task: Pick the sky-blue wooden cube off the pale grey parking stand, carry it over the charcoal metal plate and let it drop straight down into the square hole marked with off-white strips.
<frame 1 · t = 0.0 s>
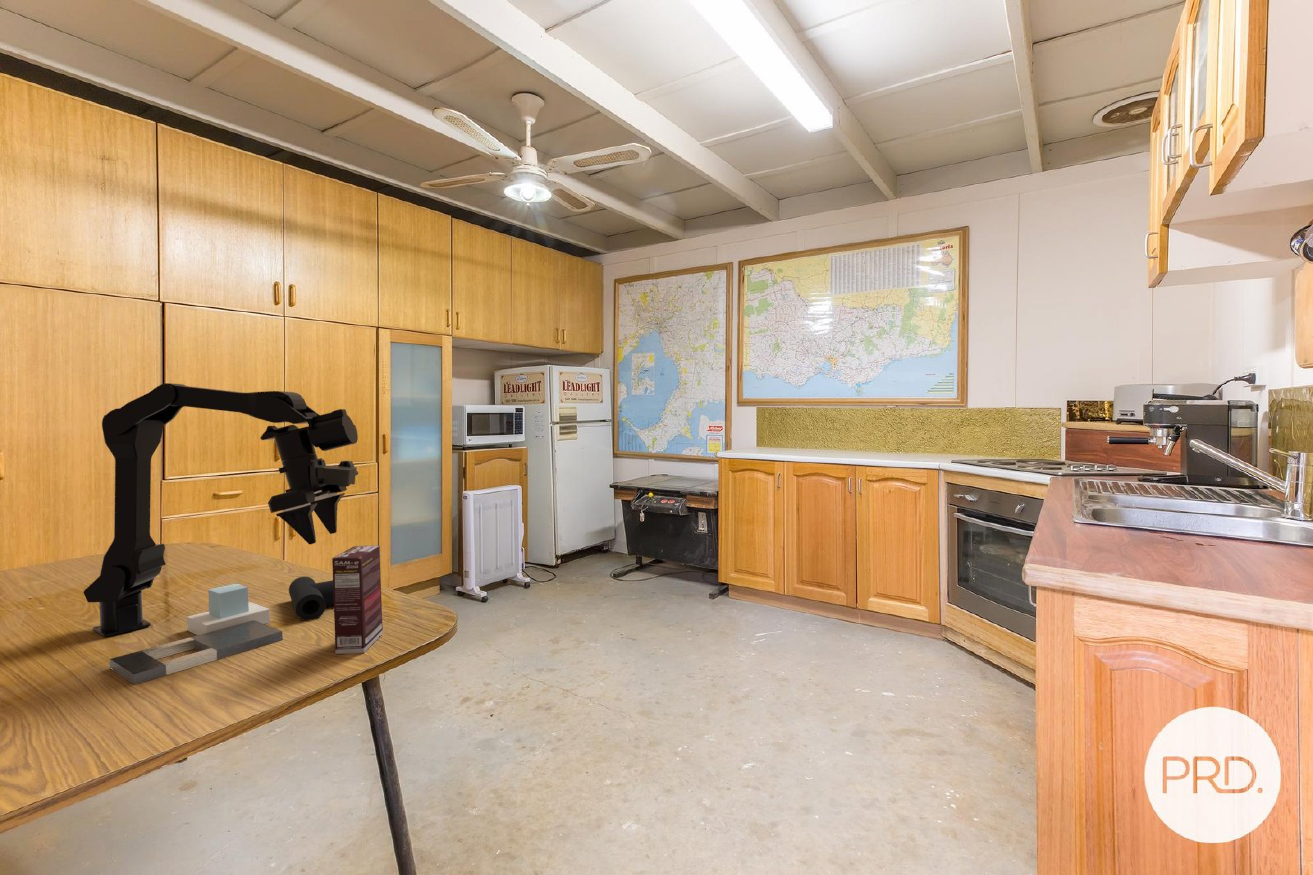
hand: (323, 538, 112), 15 cm above the table, tool pointing down, fingers open, 9 cm apart
pipe connector: (325, 607, 121), on the table
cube: (229, 612, 109), point 2 cm above the table, touching parking stand
parking stand: (229, 626, 109), on the table
supplement box: (359, 645, 101), on the table
plate: (201, 653, 97), on the table
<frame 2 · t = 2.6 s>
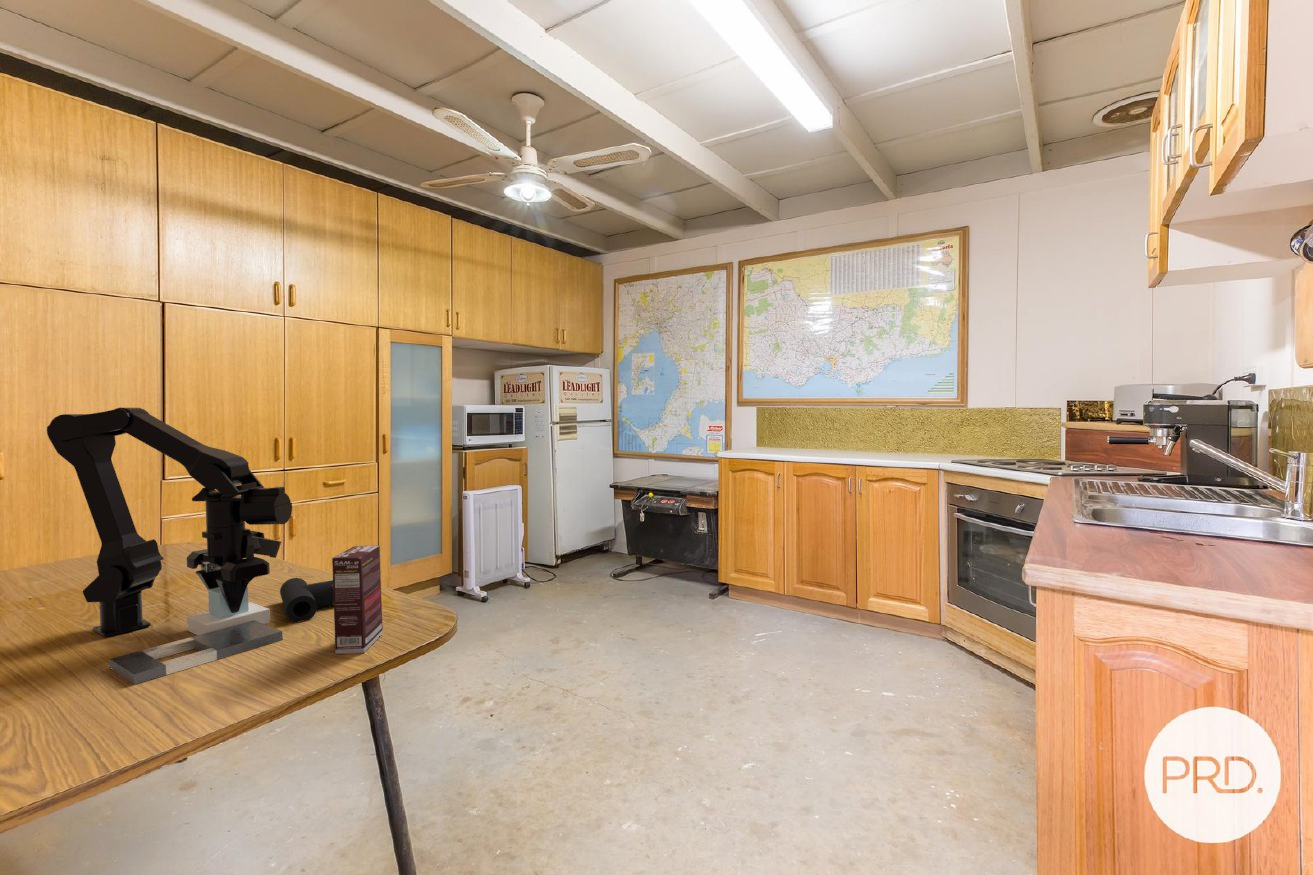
hand: (228, 610, 109), 3 cm above the table, tool pointing down, fingers closed on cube, 4 cm apart
pipe connector: (317, 609, 120), on the table
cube: (229, 612, 109), point 3 cm above the table, touching gripper, parking stand
everything else where it was.
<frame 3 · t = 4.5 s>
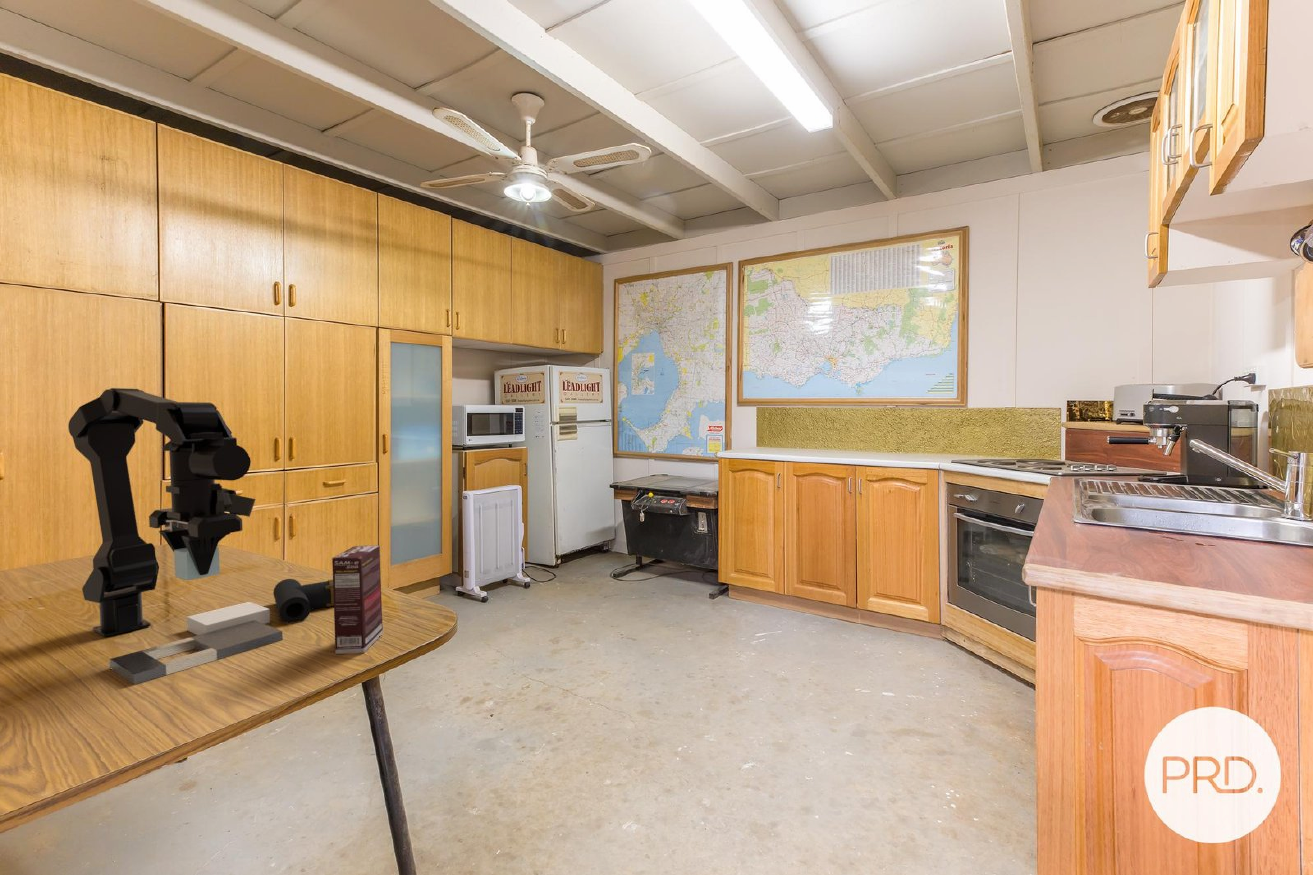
hand: (197, 572, 99), 13 cm above the table, tool pointing down, fingers closed on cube, 4 cm apart
pipe connector: (310, 610, 119), on the table
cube: (197, 575, 99), point 12 cm above the table, touching gripper
everything else where it was.
when the fingers open (2 cm above the table, at t = 6.6 s): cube drops 2 cm, on the table.
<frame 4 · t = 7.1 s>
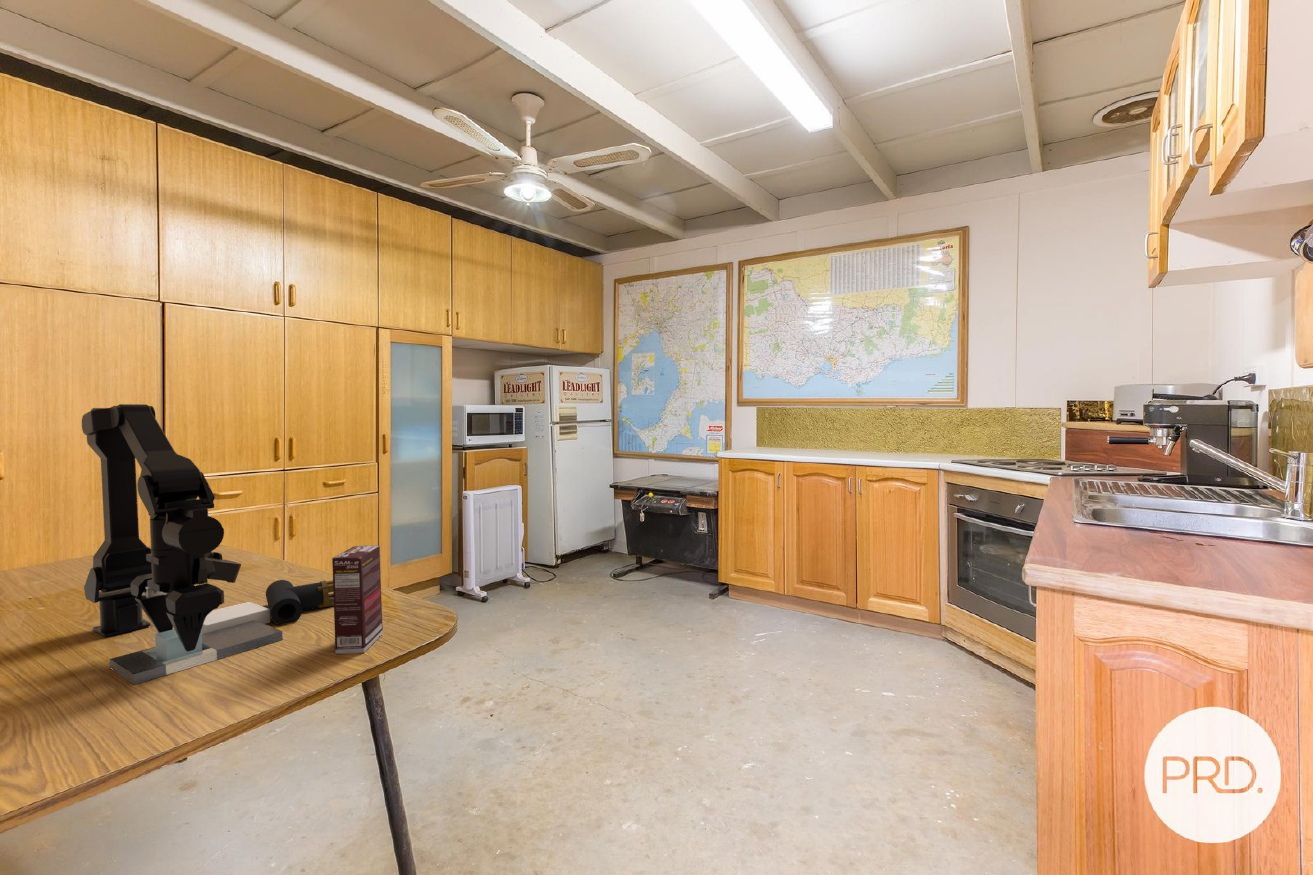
hand: (178, 644, 94), 2 cm above the table, tool pointing down, fingers open, 9 cm apart
pipe connector: (303, 611, 119), on the table
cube: (179, 660, 95), on the table
everything else where it was.
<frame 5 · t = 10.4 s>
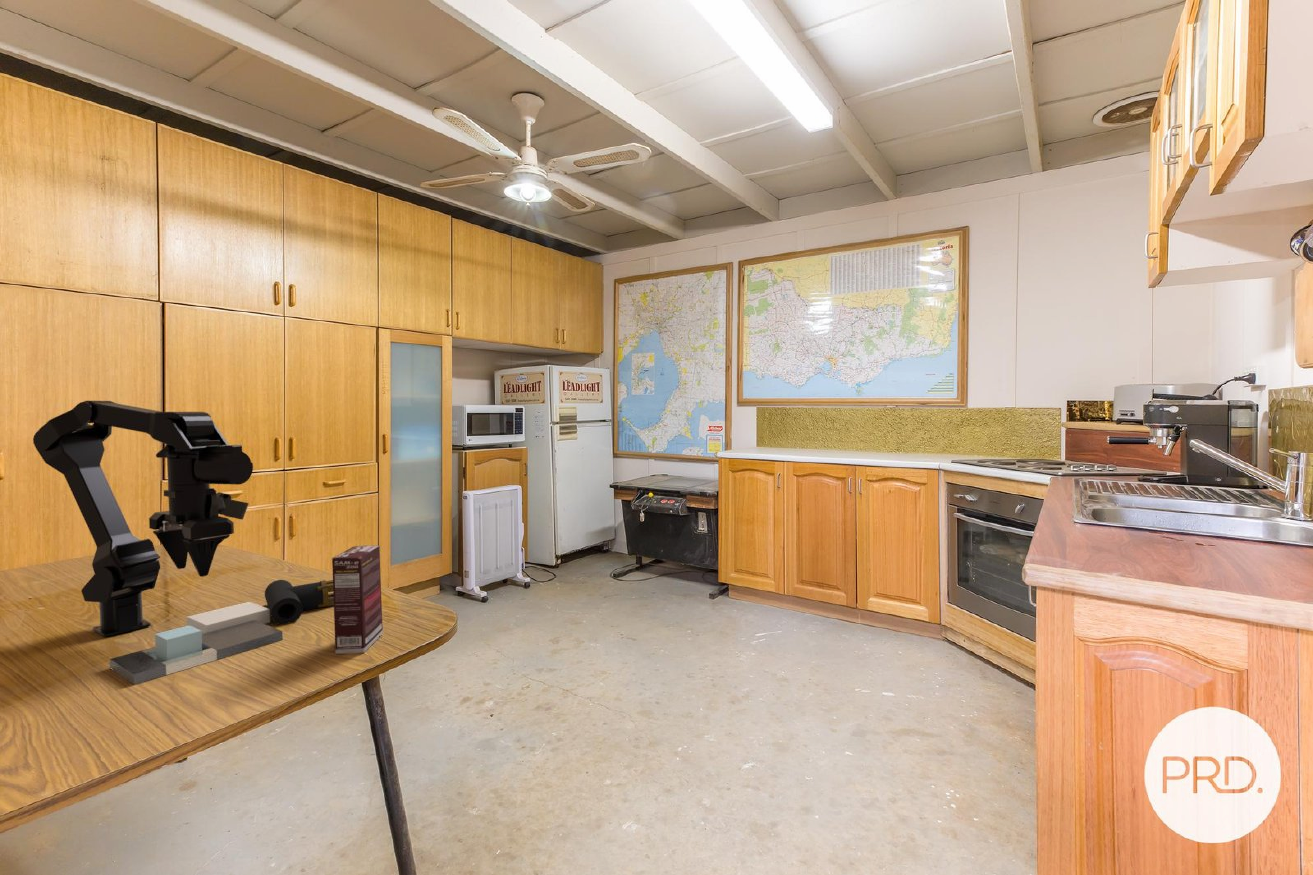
hand: (192, 572, 105), 11 cm above the table, tool pointing down, fingers open, 9 cm apart
nothing on the table moved.
at the end: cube 0.1 cm from the target spot on the plate, point 0.0 cm above the plate's base; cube tilted 0°; the gripper is holding nothing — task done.
